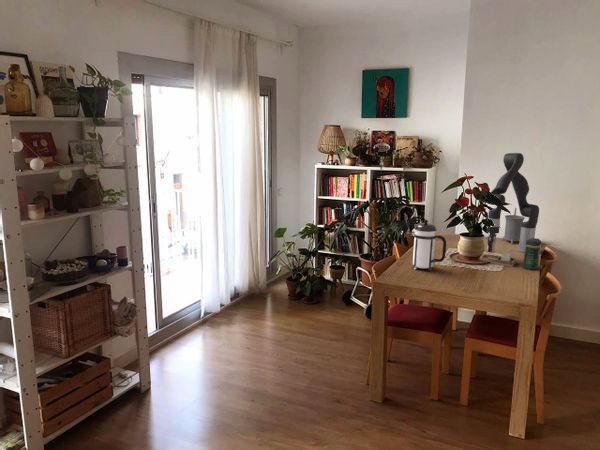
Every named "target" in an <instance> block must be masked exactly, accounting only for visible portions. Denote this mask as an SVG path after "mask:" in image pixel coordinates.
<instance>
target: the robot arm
mask: <svg viewBox="0 0 600 450" xmlns="http://www.w3.org/2000/svg"><path fill="white" fill-rule="evenodd" d="M524 160H525V159H524V155H523V153H520V152H508V153H505V154H504V155H503V164H504V167H505V169H506V172H505V173H504V174H502V175H501V177H500V178H499V179H498V181H497V183H496V185H495V187H494V188H492V190H491V192H490V193H491V194H492V195H494V196H496V197H497V198H498V199H499V200H500V201H501V202H502V203H504V204H505V203H506V196H505V195H504V194H506V193H507V190H508V189H509V187H510V184H511V185H512V187H513V188H512V189H513V191H514V193H515V196H516V199H517V204H518V209H519V212H520V214H521V215H520V216H523V217H525V218H528V220H527V221H523V222H522V224H521V232H520V241H518V252H520V253H525V246H526V240H528V239H531V238H536V236H535V235H536V229H537V224H538V222H539V217H540V216H539V215H540V207H539V206H538V205H537V204H531V203H528V201H527V195H528V194H529V191H530V186H529V183H528V180H527V178H526V177H525V176H524V175H522V173H520V172H519V171H520V169H521V167H522V166H523V164H524ZM488 204H489V205H493V206H495V205H494V204H490V203H488ZM491 209H492V210H490V209H488V216H487V217H488V218H487V220H488V219H491V220H492V221H493V222H494V224H495V225H494V226H493V227H488V228H487V227H486V230H487V229H488V231H486V232H487V233H488V237H487V243H488V244H487V243H486V244H487V245H488V252H487V253H493V252H492V246H493V243H494V242H495V243H496V240H497V239H496V238H497V234H499V233H500V226H501V215H502V210H503V208H502V209H501V208H500V207H499V206H497V205H496V207H494V208H491ZM490 243H491V244H490ZM487 245H486V246H487Z"/></svg>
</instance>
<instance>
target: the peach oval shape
mask: <svg viewBox="0 0 600 450" xmlns="http://www.w3.org/2000/svg"><path fill="white" fill-rule="evenodd" d="M486 244H488V242H487V243H486ZM490 244H491V243H490ZM495 249H496V241H495V242H494V243H493V246H492V252H491V253H495ZM486 252H487V253H489V252H488V245H486Z"/></svg>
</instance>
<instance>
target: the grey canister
mask: <svg viewBox="0 0 600 450" xmlns="http://www.w3.org/2000/svg"><path fill="white" fill-rule="evenodd" d="M516 214H517V207H514V214H513V215H512V214H507V215H504V218H505V227H504V235H503V237H502V238H501V241H504V240H506V241H510V244H511V245H513V244H514V242H519V241H520V232H521V224H522V222H524V220H525V219H526V217H524V216H522V215H516Z"/></svg>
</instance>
